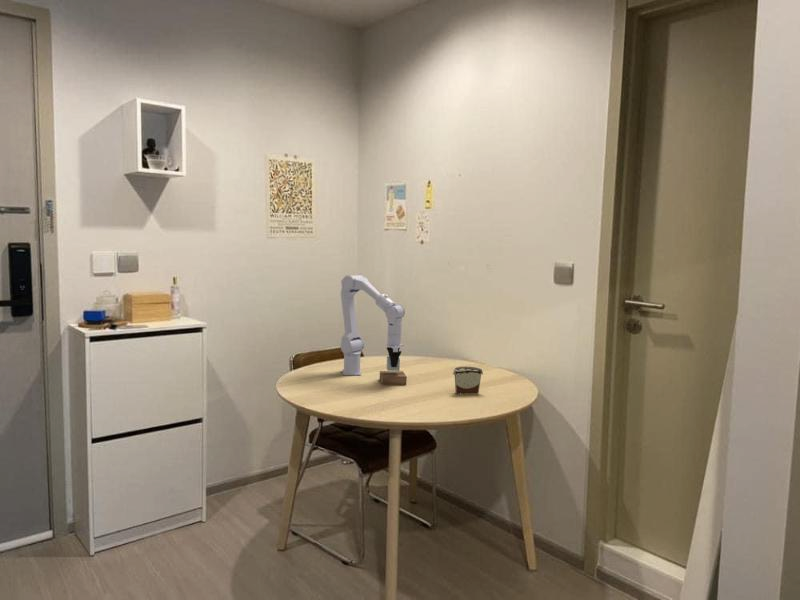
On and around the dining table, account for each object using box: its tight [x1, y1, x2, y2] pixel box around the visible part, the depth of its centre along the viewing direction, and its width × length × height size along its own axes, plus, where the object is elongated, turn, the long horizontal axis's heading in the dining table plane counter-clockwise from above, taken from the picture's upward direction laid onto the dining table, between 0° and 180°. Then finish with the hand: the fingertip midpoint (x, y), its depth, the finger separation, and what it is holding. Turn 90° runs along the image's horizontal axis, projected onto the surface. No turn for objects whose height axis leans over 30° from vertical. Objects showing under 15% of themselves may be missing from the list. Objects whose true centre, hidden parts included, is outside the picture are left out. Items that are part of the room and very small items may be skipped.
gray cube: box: [386, 355, 401, 371], centre depth 253 cm, size 5×5×5 cm
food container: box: [452, 366, 484, 395], centre depth 241 cm, size 12×6×10 cm, turn 104°
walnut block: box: [379, 370, 408, 386], centre depth 254 cm, size 10×10×4 cm
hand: (393, 365), depth 253 cm, fingers closed on gray cube, 5 cm apart
